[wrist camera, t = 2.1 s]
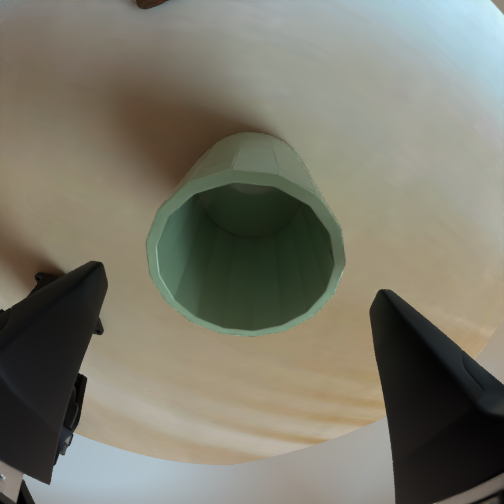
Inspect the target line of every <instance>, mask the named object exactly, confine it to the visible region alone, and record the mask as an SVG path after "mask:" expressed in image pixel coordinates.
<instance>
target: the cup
mask: <svg viewBox="0 0 504 504" xmlns="http://www.w3.org/2000/svg"><path fill="white" fill-rule="evenodd" d="M146 250H147V258H148V266H149V273H150V276H151V278H152V280H153V282H154V283H155V285H156V287H157V288H158V290H159V291H160V293H161V295H162V296H163V298H164V300H165V301H166V302H167V303H168V304H169V305H170V306H171V307H173V308H174V309H175V310H176V311H178V312H179V313H180V314H181V315H183V316H184V317H185V318H186V319H188V320H189V321H191V322H192V323H195V324H197V325H200V326H202V327H205V328H207V329H210V330H213V331H215V332H218V333H222V334H229V335H239V336H250V337H253V336H254V337H255V336H261V335H266V334H272V333H277V332H282V331H285V330H288V329H290V328H292V327H294V326H296V325H298V324H300V323H302V322H304V321H306V320H308V319H309V318H311V317H313V316H314V315H315V314H316V313H317V312H318V311H319V310H320V309H321V308H322V307H323V306H324V305H325V304H326V303H327V302H328V300H329V299H330V298H331V297H332V296H333V295H334V294H335V292H336V289H337V287H338V284H339V281H340V278H341V275H342V273H343V270H344V267H345V262H346V259H345V251H344V243H343V236H342V230H341V227H340V225H339V223H338V221H337V220H336V218H335V216H334V214H333V212H332V210H331V209H330V207H329V205H328V203H327V202H326V200H325V198H324V196H323V195H322V193H321V191H320V189H319V188H318V186H317V184H316V183H315V181H314V179H313V178H312V176H311V174H310V173H309V171H308V169H307V168H306V166H305V165H304V163H303V162H302V161H301V159H300V158H299V156H298V155H297V154H296V152H295V151H294V150H293V149H292V148H291V147H290V146H289V145H287V144H286V143H285V142H283V141H282V140H280V139H278V138H276V137H274V136H271V135H268V134H265V133H259V132H242V133H237V134H233V135H230V136H228V137H225V138H223V139H221V140H219V141H218V142H217V143H215V144H214V145H213V146H212V147H211V148H210V149H209V150H207V151H206V152H205V153H204V154H203V155H202V156H201V157H200V158H199V160H198V161H197V162H196V163H195V164H194V165H193V167H192V168H191V169H190V170H189V171H188V172H187V174H186V175H185V176H184V177H183V179H182V180H181V181H180V182H179V183H178V185H177V186H176V187H175V188H174V190H173V191H172V192H171V193H170V195H169V196H168V197H167V198H166V200H165V201H164V202H163V204H162V205H161V206H160V208H159V209H158V210H157V212H156V215H155V218H154V221H153V223H152V226H151V229H150V232H149V234H148V237H147V240H146Z"/></svg>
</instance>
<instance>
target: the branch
mask: <svg viewBox="0 0 504 504" xmlns="http://www.w3.org/2000/svg"><path fill="white" fill-rule="evenodd" d="M136 1H137V4H138V6H139V7H140V8H141V9H148V8H152V7H154V6H157V5H159V4H162V3H164V2H166V1H168V0H136Z"/></svg>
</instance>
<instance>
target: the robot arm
mask: <svg viewBox="0 0 504 504" xmlns="http://www.w3.org/2000/svg"><path fill="white" fill-rule="evenodd" d="M35 280H36V282H37V285H36V286H35V287H34V289H33V290H32V291H31V292H30V294H29V295H28V296H27V298H25V299H23V300H22V301H20V302H18V303H17V304H15V305H14V306H12V307H11V308H9V309H7V310H6V311H4V310H2V309H1V310H0V504H35V502H34V501H33V498H32V496H31V494H30V492H29V490H28V488H27V486H26V484H25V481H24V480H23V479H22V478H23V474H26V475H28V476H31V477H32V478H35V479H37V480H39V481H41V482H43V483H46V484H48V485H50V482H51V477H52V471H53V466H54V465H55V464H56V462H57V459H58V456H59V453H60V451H61V448H62V446H63V444H64V442H65V440H66V439H67V438H68V437H70V436H71V435H72V433H73V432H74V431H75V429H76V427H77V425H78V422H79V420H80V415H81V409H82V404H83V398H84V393H85V388H86V383H87V378H86V377H85V376H84V375H83V374H80V373H78V372H79V369H80V366H81V363H82V361H83V358H84V355H85V352H86V350H87V347H88V344H89V342H90V339H91V337H92V334H97V335H102V334H103V332H104V329H103V327H102V324H101V321H100V319H99V314H100V310H101V307H102V304H103V301H104V298H105V295H106V292H107V288H108V281H107V277H106V273H105V269H104V265H103V263H101V262H98V261H90V262H88V263H86V264H84V265H82V266H80V267H79V268H77V269H75V270H73V271H71V272H70V273H68V274H66V275H64V276H62V277H60V276H55V275H50V274H45V273H40V272H37V274H36V275H35ZM370 321H371V328H372V335H373V343H374V351H375V356H376V361H377V366H378V370H379V375H380V380H381V385H382V391H383V396H384V402H385V408H386V414H387V419H388V427H389V434H390V442H391V450H392V459H393V471H394V485H395V502H396V504H433V503H437V504H504V385H503V384H502V383H501V382H500V381H499V380H497V379H496V378H495V377H494V376H492V375H491V374H490V373H489V372H488V371H486V370H485V369H484V368H483V367H482V366H480V365H479V364H478V363H477V362H476V361H475V360H473V359H472V358H471V357H470V356H469V355H468V354H467V353H466V352H465V351H463V350H462V349H461V348H460V347H459V346H458V345H457V344H455V343H454V342H453V341H452V340H451V339H450V338H449V337H447V336H446V335H445V334H444V333H443V332H442V331H440V330H439V329H438V328H437V327H436V326H435V325H433V324H432V323H431V322H430V321H429V320H427V319H426V318H425V317H424V316H423V315H421V314H420V313H419V312H418V311H417V310H415V309H414V308H413V307H412V306H410V305H409V304H408V303H407V302H406V301H404V300H403V299H402V298H401V297H399V296H398V295H397V294H396V293H394V292H393V291H392V290H387V289H381V290H379V291H378V293H377V295H376V297H375V299H374V301H373V303H372V305H371V307H370Z"/></svg>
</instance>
